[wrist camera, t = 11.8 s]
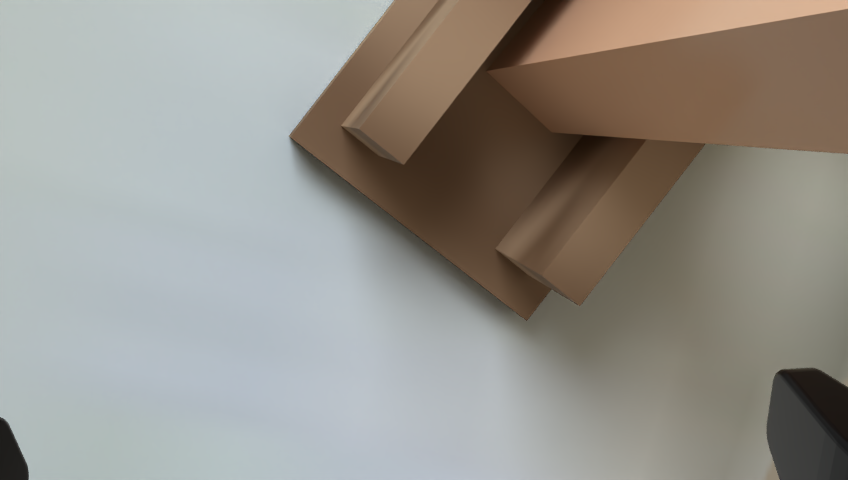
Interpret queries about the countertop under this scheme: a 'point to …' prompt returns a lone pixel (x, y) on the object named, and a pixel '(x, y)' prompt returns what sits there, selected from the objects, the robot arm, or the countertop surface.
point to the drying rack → (483, 155)
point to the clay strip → (686, 71)
